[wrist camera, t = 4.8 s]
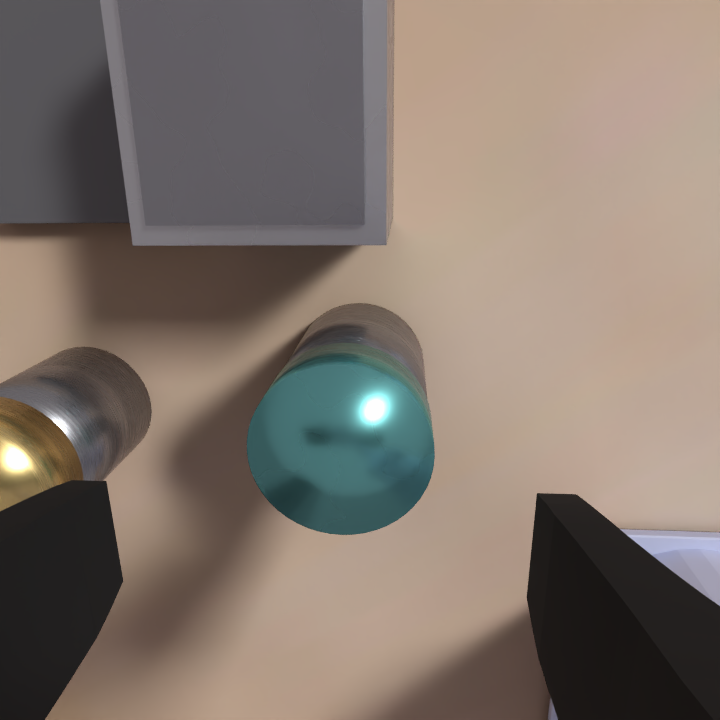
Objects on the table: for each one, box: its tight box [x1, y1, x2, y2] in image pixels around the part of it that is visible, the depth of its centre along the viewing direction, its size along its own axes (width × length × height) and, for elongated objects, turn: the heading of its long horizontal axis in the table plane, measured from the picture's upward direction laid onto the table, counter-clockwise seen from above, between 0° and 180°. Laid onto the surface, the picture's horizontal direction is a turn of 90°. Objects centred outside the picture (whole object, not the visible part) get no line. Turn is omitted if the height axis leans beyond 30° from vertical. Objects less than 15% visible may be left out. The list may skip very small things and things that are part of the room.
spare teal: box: [247, 303, 435, 535], centre depth 15 cm, size 4×4×6 cm
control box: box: [100, 0, 394, 246], centre depth 13 cm, size 6×5×6 cm
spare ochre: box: [0, 347, 151, 511], centre depth 16 cm, size 4×4×6 cm
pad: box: [0, 0, 130, 223], centre depth 16 cm, size 6×6×1 cm
